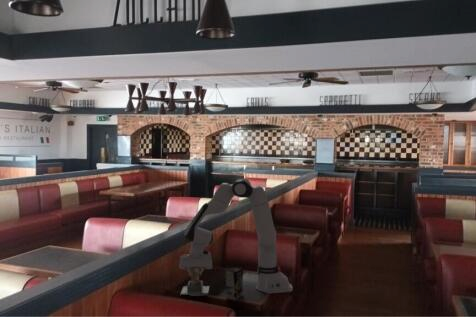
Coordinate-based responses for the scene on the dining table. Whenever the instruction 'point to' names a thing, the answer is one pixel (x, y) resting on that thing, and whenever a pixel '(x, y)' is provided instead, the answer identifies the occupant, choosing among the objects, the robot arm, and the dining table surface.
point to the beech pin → (195, 276)
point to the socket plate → (195, 289)
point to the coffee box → (234, 283)
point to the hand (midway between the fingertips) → (195, 275)
